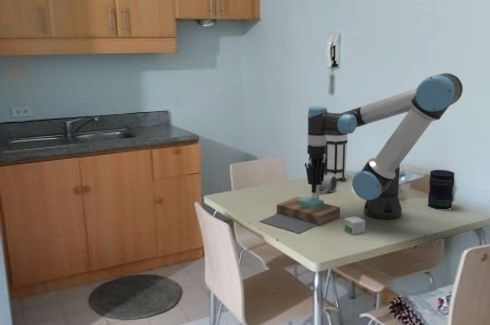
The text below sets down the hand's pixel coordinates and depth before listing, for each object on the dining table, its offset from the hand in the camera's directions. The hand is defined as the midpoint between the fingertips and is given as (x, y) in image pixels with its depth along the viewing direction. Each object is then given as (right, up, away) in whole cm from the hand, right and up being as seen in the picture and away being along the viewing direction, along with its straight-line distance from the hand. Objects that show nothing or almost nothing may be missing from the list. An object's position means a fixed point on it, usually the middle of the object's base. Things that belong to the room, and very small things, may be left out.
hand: (315, 199), depth 213 cm
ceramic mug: (+9, +2, +29) cm, 31 cm away
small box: (+12, -11, -21) cm, 26 cm away
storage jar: (+54, -3, +5) cm, 55 cm away
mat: (-12, -9, -12) cm, 19 cm away
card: (-2, -2, -2) cm, 4 cm away
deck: (-3, -6, -3) cm, 8 cm away
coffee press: (+17, +7, +49) cm, 52 cm away
